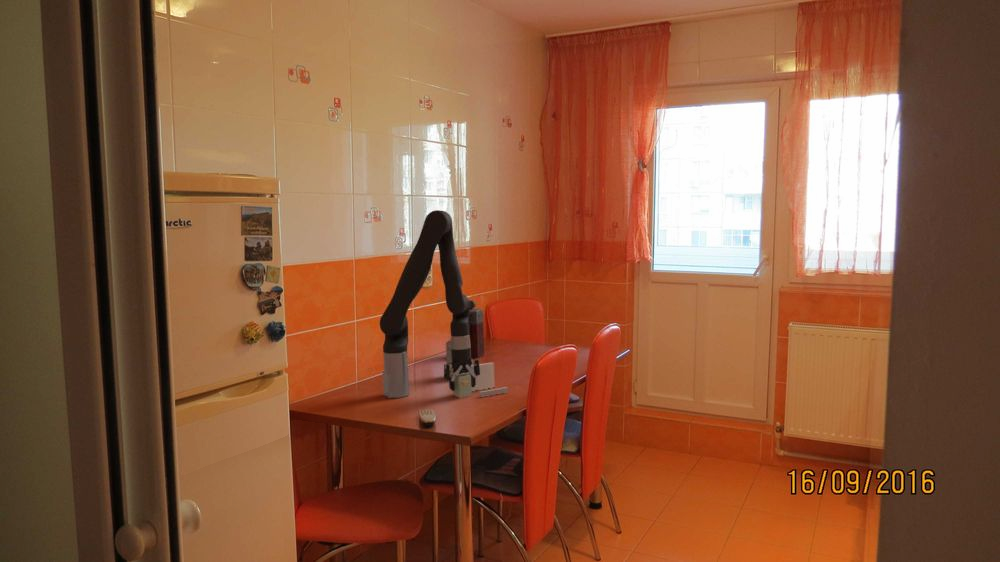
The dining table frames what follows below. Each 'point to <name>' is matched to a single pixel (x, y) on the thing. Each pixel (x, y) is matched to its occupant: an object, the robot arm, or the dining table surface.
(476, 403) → the dining table surface
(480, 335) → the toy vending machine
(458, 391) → the cabinet block
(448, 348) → the coffee box
